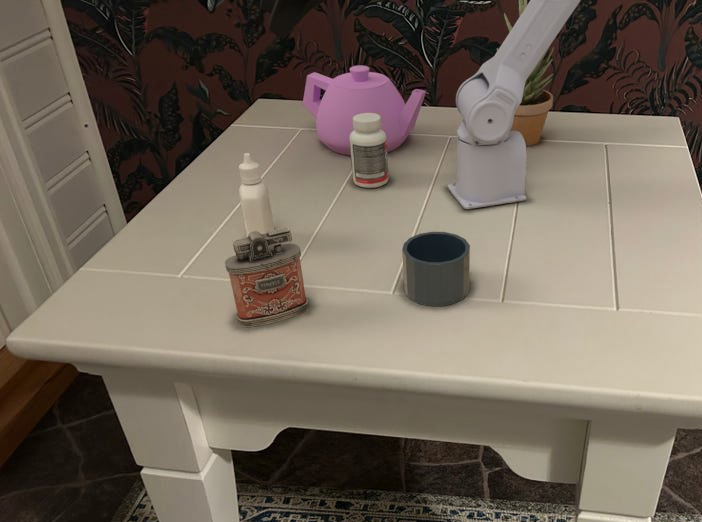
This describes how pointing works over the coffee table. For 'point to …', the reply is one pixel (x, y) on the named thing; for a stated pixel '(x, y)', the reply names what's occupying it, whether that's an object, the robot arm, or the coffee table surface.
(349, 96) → the teapot
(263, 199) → the eye dropper bottle
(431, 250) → the tube
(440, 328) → the coffee table surface
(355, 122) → the pill bottle
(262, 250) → the lighter
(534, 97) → the potted plant
